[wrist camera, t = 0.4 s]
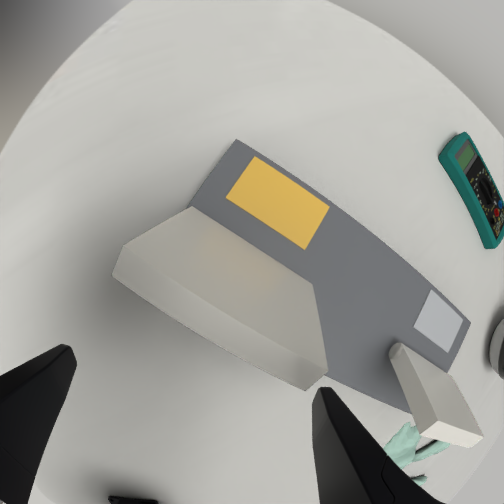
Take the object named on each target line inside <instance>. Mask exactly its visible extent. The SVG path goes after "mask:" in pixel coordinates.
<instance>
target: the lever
mask: <svg viewBox="0 0 504 504" xmlns="http://www.w3.org/2000/svg"><path fill="white" fill-rule="evenodd" d="M388 356H389V358H390V361H391V363H392V365H393V368H394V370H395V372H396V375H397V377H398V380H399V382H400V384H401V387H402V389H403V392H404V394H405V397H406V400H407V402H408V405H409V407H410V410H411V413H412V415H413V418H414V421H415V424H416V426H417V429H418V432H419V435H421V436H425V437H428V438H432V439H436V440H439V441H443V442H447V443H451V444H455V445H459V446H463V447H468V448H471V447H472V446H474V445H475V444H476V443H477V442H479V441H480V440H481V439H482V438H483V437H484V436H483V434H482V432H481V430H480V428H479V426H478V424H477V422H476V420H475V418H474V416H473V414H472V412H471V410H470V408H469V406H468V404H467V402H466V401H465V399H464V397H463V395H462V393H461V392H460V390H459V388H458V386H457V385H456V383H455V381H454V379H453V378H452V376H450V375H449V374H447V373H446V372H444V371H443V370H441V369H440V368H438V367H437V366H435V365H434V364H432V363H431V362H429V361H428V360H426V359H425V358H423V357H422V356H420V355H419V354H417V353H416V352H414V351H413V350H411V349H410V348H408V347H407V346H405V345H404V344H402V343H396V344H394V345H393V346H392V347H391V349H390V351H389V355H388Z"/></svg>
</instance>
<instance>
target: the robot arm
mask: <svg viewBox="0 0 504 504" xmlns="http://www.w3.org/2000/svg"><path fill="white" fill-rule="evenodd" d="M76 367H77V361H76V358H75V356H74V353H73V350H72V348H71V347H70V346H68V345H65V344H60V345H58V346H56V347H54V348H52V349H50V350H48V351H47V352H45V353H43V354H41V355H39V356H37V357H35V358H33V359H31V360H29V361H27V362H26V363H24V364H22V365H20V366H18V367H16V368H14V369H12V370H10V371H8V372H6V373H5V374H3V375H1V376H0V504H2V503H3V502H4V503H6V504H28V500H29V497H30V493H31V490H32V486H33V483H34V480H35V476H36V473H37V470H38V467H39V464H40V461H41V458H42V456H43V453H44V450H45V447H46V445H47V442H48V439H49V437H50V434H51V432H52V429H53V427H54V424H55V422H56V420H57V417H58V415H59V413H60V410H61V408H62V406H63V404H64V401H65V399H66V396H67V393H68V390H69V387H70V384H71V381H72V378H73V376H74V373H75V370H76ZM312 442H313V452H314V459H315V467H316V475H317V483H318V491H319V500H320V504H445V503H442V502H440V501H438V500H436V499H435V498H433V497H432V496H431V495H430V494H428V493H427V492H426V491H425V490H424V489H422V488H421V487H420V486H419V485H418V484H417V483H415V482H414V481H413V480H412V479H411V478H410V477H409V476H408V475H407V474H405V473H404V472H403V471H402V470H401V469H400V467H399V466H398V465H397V464H396V463H395V462H394V461H393V460H392V459H391V458H390V456H389V455H387V453H386V452H385V451H384V450H383V448H382V447H381V446H380V445H379V444H378V443H377V441H376V440H375V439H374V438H373V437H372V436H371V434H370V433H369V432H368V431H367V430H366V428H365V427H364V426H363V425H362V424H361V423H360V421H359V420H358V419H357V418H356V417H355V415H354V414H353V413H352V412H351V411H350V409H349V408H348V407H347V406H346V405H345V403H344V402H343V401H342V400H341V399H340V397H339V396H338V395H337V394H336V393H335V391H334V390H333V389H332V388H331V387H320V388H319V389H318V390H317V393H316V395H315V397H314V400H313V403H312ZM108 500H109V502H110V503H111V504H158V502H156V501H154V500H141V499H130V498H121V497H114V496H109V498H108Z"/></svg>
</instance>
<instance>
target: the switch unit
mask: <svg viewBox="0 0 504 504" xmlns="http://www.w3.org/2000/svg"><path fill="white" fill-rule="evenodd" d="M191 206H193V207H194V208H196V209H197V210H199V211H200V212H202V213H204V214H205V215H207V216H208V217H210V218H211V219H213V220H214V221H216V222H218V223H219V224H221V225H222V226H224V227H225V228H227V229H228V230H230V231H231V232H233V233H235V234H236V235H238V236H239V237H241V238H242V239H244V240H245V241H247V242H248V243H250V244H252V245H253V246H255V247H256V248H258V249H259V250H261V251H262V252H264V253H265V254H267V255H268V256H270V257H272V258H273V259H275V260H276V261H278V262H279V263H281V264H282V265H284V266H285V267H287V268H288V269H290V270H291V271H293V272H295V273H296V274H298V275H299V276H301V277H302V278H304V279H305V280H307V281H308V282H310V283H311V284H313V289H314V294H315V299H316V304H317V309H318V315H319V320H320V325H321V331H322V336H323V342H324V348H325V354H326V360H327V366H328V372H327V373H325V374H324V375H326V376H328V377H330V378H332V379H334V380H336V381H338V382H340V383H342V384H344V385H346V386H348V387H350V388H353V389H355V390H357V391H359V392H361V393H363V394H366V395H368V396H370V397H372V398H374V399H377V400H379V401H381V402H384V403H386V404H388V405H391V406H393V407H395V408H398V409H400V410H402V411H405V412H407V413H410V414H412V413H411V410H410V407H409V405H408V402H407V400H406V397H405V394H404V392H403V389H402V387H401V384H400V382H399V380H398V377H397V375H396V372H395V370H394V368H393V365H392V363H391V361H390V358H389V356H388V355H389V351H390V349H391V347H392V346H393V345H394V344H396V343H402V344H404V345H405V346H407V347H408V348H410V349H411V350H413V351H414V352H416V353H417V354H419V355H420V356H422V357H423V358H425V359H426V360H428V361H429V362H431V363H432V364H434V365H435V366H437V367H438V368H440V369H441V370H443V371H444V372H446V373H447V372H448V370H449V369H450V367H451V365H452V363H453V361H454V359H455V357H456V355H457V353H458V351H459V349H460V347H461V344H462V342H463V340H464V338H465V336H466V333H467V331H468V329H469V326H470V324H471V322H470V321H469V320H468V319H467V318H466V317H465V316H464V315H463V314H462V313H461V312H460V311H459V310H458V309H457V308H456V307H455V306H454V305H453V304H452V303H451V302H450V301H449V300H448V299H447V298H446V297H445V296H444V295H443V294H442V293H441V292H440V291H438V290H437V289H436V288H435V287H434V286H433V285H432V284H431V283H430V282H429V281H428V280H427V279H426V278H424V277H423V276H422V275H421V274H420V273H419V272H418V271H417V270H415V269H414V268H413V267H412V266H411V265H410V264H409V263H407V262H406V261H405V260H404V259H403V258H402V257H401V256H399V255H398V254H397V253H396V252H395V251H393V250H392V249H391V248H390V247H389V246H387V245H386V244H385V243H384V242H383V241H381V240H380V239H379V238H378V237H376V236H375V235H374V234H373V233H371V232H370V231H369V230H368V229H366V228H365V227H364V226H363V225H361V224H360V223H359V222H357V221H356V220H355V219H354V218H352V217H351V216H350V215H348V214H347V213H346V212H344V211H343V210H342V209H340V208H339V207H338V206H336V205H335V204H334V203H332V202H331V201H329V200H328V199H327V198H325V197H324V196H323V195H321V194H320V193H318V192H317V191H316V190H314V189H313V188H311V187H310V186H308V185H307V184H306V183H304V182H303V181H301V180H300V179H298V178H297V177H295V176H294V175H292V174H291V173H289V172H288V171H286V170H285V169H283V168H282V167H280V166H279V165H277V164H276V163H274V162H273V161H271V160H270V159H268V158H266V157H265V156H263V155H262V154H260V153H259V152H257V151H255V150H254V149H252V148H251V147H249V146H247V145H246V144H244V143H242V142H241V141H239V140H237V139H236V140H235V141H234V143H233V144H232V145H231V146H230V148H229V149H228V150H227V152H226V153H225V154H224V156H223V157H222V158H221V160H220V161H219V162H218V164H217V165H216V167H215V168H214V169H213V171H212V172H211V173H210V175H209V176H208V178H207V179H206V180H205V182H204V183H203V185H202V186H201V187H200V189H199V190H198V192H197V193H196V195H195V196H194V197H193V199H192V200H191V202H190V203H189V205H188V206H187V208H189V207H191ZM187 208H186V209H187Z"/></svg>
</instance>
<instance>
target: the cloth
mask: <svg viewBox="0 0 504 504" xmlns="http://www.w3.org/2000/svg"><path fill="white" fill-rule="evenodd" d="M420 438H421V435H419V432H418V429H417V426H416V425H415V426H414V427H410V422H408V423H406V424H404V426H403V427H402V428H401V429H400V430H399V431H398V433H397V434H395V435H394V436H393V438H392V439H391V440H390V441H389V442H388V443H387V444H386V445H385V447H384V448H383V450H384V451H385V452H386V453H387V455H389V456H390V458H391V459H392V460H393V461H394V462H395V463H396V464H397V465H398V466H399V467H400V469H401V470H402V469H403V468H404V467H405V466H406V465H408V464H409V463H411V462H415V461H419V460H422V459H425V458H427V457H429V456H431V455H433V454H437V453H439V452H441V451H442V450H444V449H446V448H447V447H449V445H450V444H451V443H447V442H443V441H439V440H436V441H434V442H432V443H430V444H428V445H427V446H425V447H423V448H421V449H419V450H417V451H415V447H416V445H417V443H418V441H419V440H420ZM411 479H412V480H413V481H414V482H415V483H417V484H418V485H419V486H421V485H422V484H424V483H425V482H426V479H427V477H426V476H421V477H414V478H411Z"/></svg>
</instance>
